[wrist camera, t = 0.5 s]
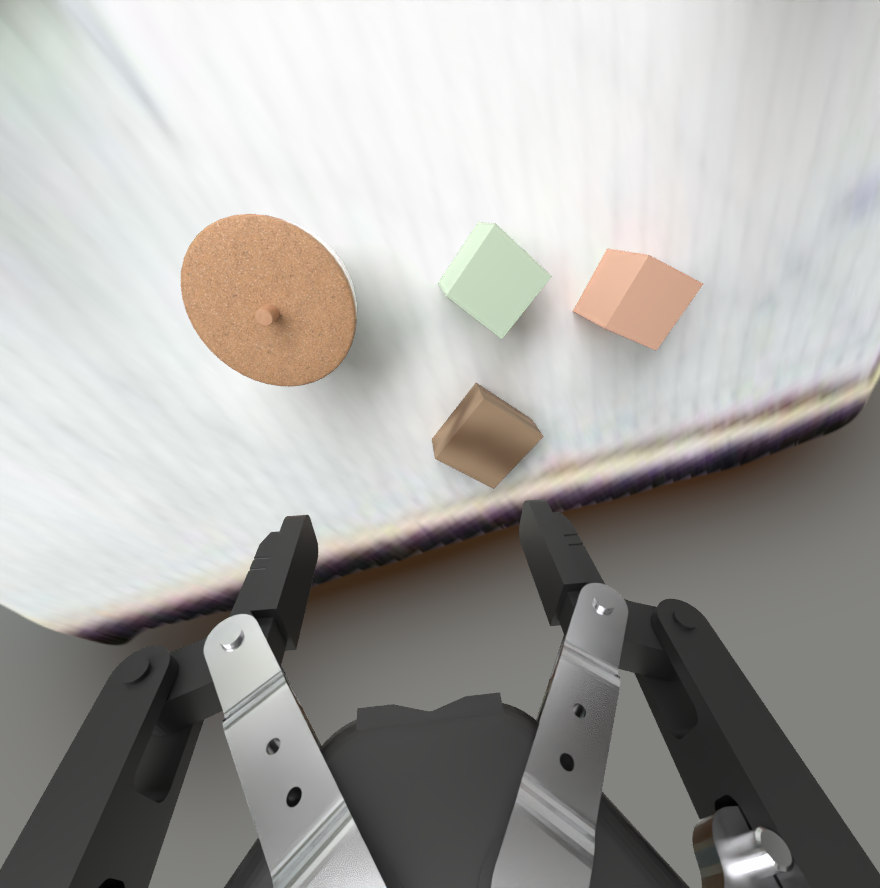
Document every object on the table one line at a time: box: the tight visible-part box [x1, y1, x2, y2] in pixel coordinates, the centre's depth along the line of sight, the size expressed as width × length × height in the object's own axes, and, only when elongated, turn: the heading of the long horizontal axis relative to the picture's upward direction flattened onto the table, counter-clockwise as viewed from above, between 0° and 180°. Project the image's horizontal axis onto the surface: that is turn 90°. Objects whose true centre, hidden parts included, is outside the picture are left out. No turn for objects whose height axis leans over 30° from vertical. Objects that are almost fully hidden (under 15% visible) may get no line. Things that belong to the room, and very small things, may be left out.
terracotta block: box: [573, 249, 703, 350], centre depth 30 cm, size 6×6×6 cm
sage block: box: [438, 222, 552, 339], centre depth 28 cm, size 6×6×6 cm
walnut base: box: [432, 383, 543, 489], centre depth 37 cm, size 8×8×4 cm
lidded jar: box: [181, 214, 357, 386], centre depth 25 cm, size 11×11×9 cm
